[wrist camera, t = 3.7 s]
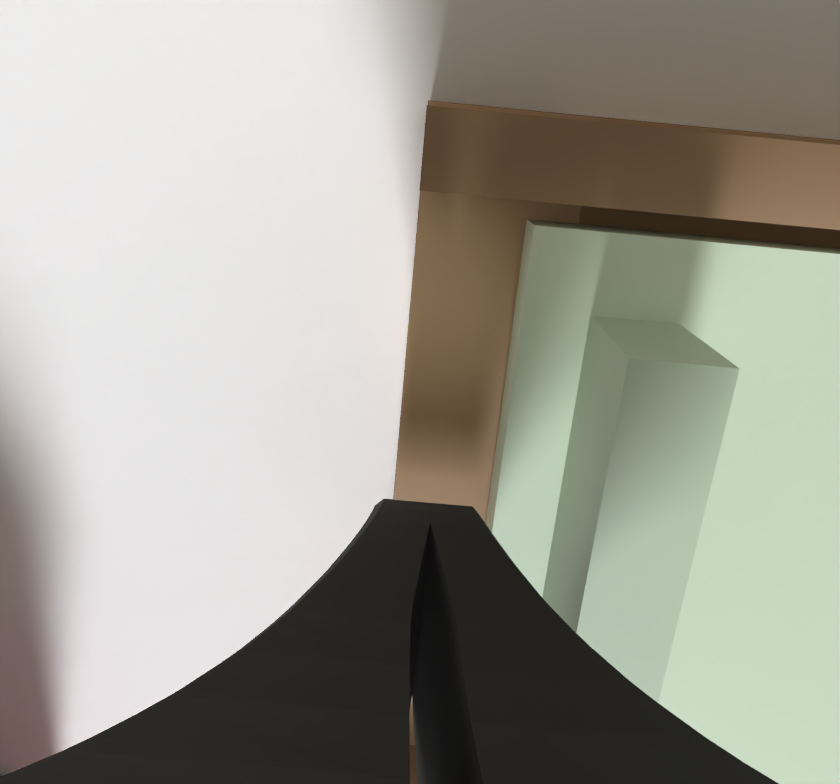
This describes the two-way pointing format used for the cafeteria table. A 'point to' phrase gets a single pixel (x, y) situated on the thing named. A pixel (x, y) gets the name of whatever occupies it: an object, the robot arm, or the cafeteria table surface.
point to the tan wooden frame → (569, 203)
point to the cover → (684, 474)
